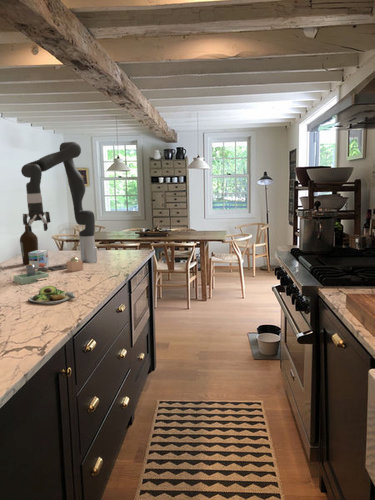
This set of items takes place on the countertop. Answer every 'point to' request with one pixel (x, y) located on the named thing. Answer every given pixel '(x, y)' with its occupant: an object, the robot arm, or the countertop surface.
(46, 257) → the light bulb box
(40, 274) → the green trough
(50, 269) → the bulb tester base
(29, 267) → the grey cell
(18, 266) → the countertop surface
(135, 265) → the countertop surface
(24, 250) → the olive oil
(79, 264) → the tan square box
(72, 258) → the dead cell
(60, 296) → the salad plate
